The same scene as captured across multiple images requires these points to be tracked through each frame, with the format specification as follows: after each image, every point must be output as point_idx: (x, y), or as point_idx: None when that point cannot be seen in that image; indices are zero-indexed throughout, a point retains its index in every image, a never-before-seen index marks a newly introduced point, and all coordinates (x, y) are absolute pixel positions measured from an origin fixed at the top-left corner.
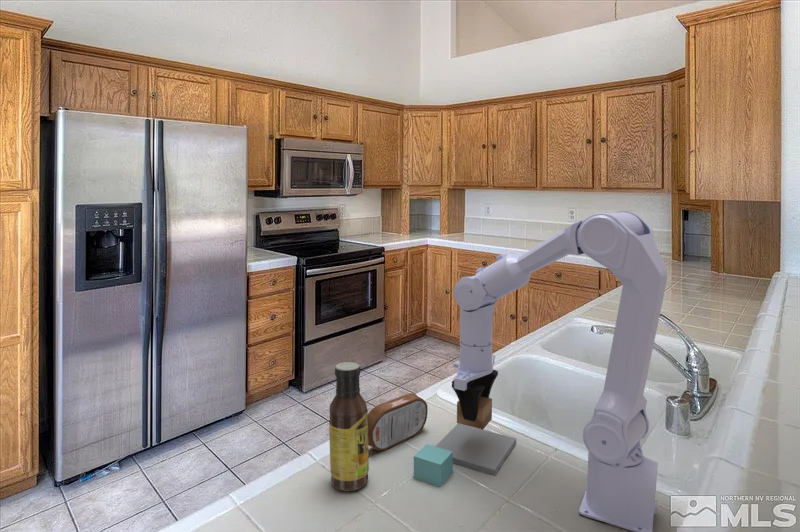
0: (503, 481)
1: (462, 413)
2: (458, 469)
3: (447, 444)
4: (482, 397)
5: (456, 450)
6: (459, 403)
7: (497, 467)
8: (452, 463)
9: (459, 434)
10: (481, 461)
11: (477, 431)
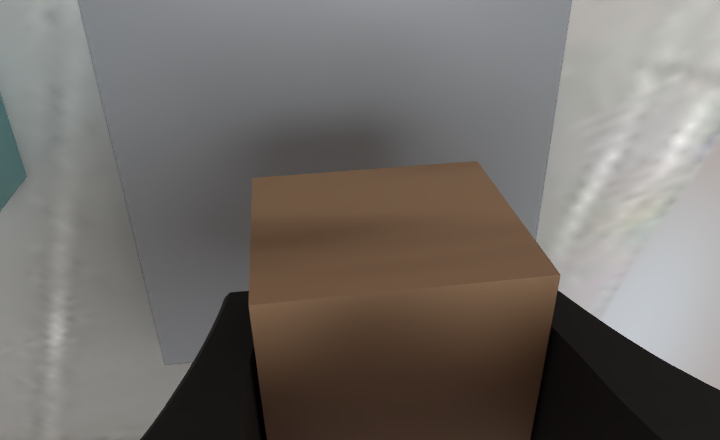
0: (153, 384)
1: (219, 316)
2: (84, 187)
3: (238, 31)
4: (512, 431)
5: (205, 124)
6: (252, 326)
7: None
8: (4, 205)
9: (418, 40)
10: (192, 289)
11: (514, 127)
